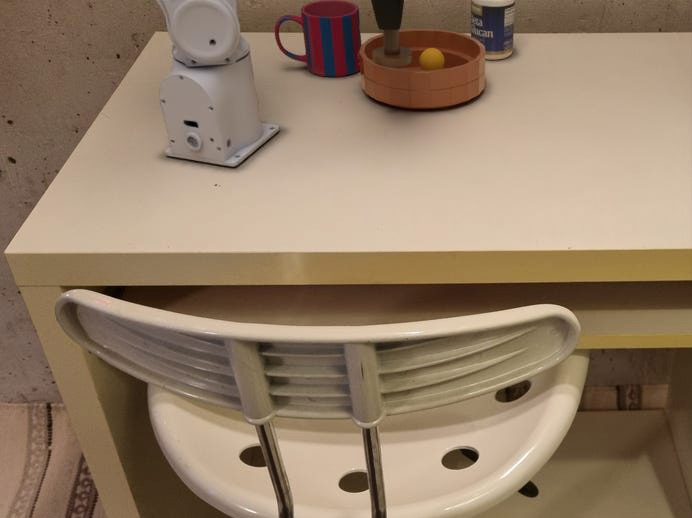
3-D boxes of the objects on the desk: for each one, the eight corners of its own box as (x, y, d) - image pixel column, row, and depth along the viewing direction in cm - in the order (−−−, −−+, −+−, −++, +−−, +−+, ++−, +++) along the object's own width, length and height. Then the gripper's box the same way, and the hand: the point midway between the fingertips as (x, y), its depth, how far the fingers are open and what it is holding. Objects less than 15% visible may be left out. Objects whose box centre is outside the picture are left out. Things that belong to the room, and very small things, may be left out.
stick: (403, 69, 84) (398, -29, 78) (366, 64, 85) (359, -34, 79) (418, 56, 86) (414, -40, 81) (382, 51, 87) (376, -44, 82)
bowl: (461, 120, 92) (462, 79, 89) (342, 103, 95) (338, 62, 92) (499, 75, 102) (500, 36, 99) (390, 60, 105) (388, 23, 102)
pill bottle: (462, 55, 107) (463, -28, 100) (482, 43, 110) (483, -38, 104) (501, 63, 105) (503, -21, 98) (519, 50, 108) (523, -32, 102)
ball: (440, 80, 99) (439, 54, 97) (416, 77, 99) (415, 51, 97) (448, 71, 101) (448, 46, 99) (424, 68, 101) (424, 43, 100)
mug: (364, 76, 101) (359, 16, 96) (279, 79, 100) (270, 19, 95) (361, 56, 106) (357, -1, 101) (281, 59, 105) (273, 1, 100)
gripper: (425, -119, 69) (429, 50, 78) (428, -149, 80) (431, 2, 89) (338, -120, 69) (353, 50, 78) (353, -150, 80) (364, 2, 89)
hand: (390, 25), depth 83 cm, fingers closed on stick
